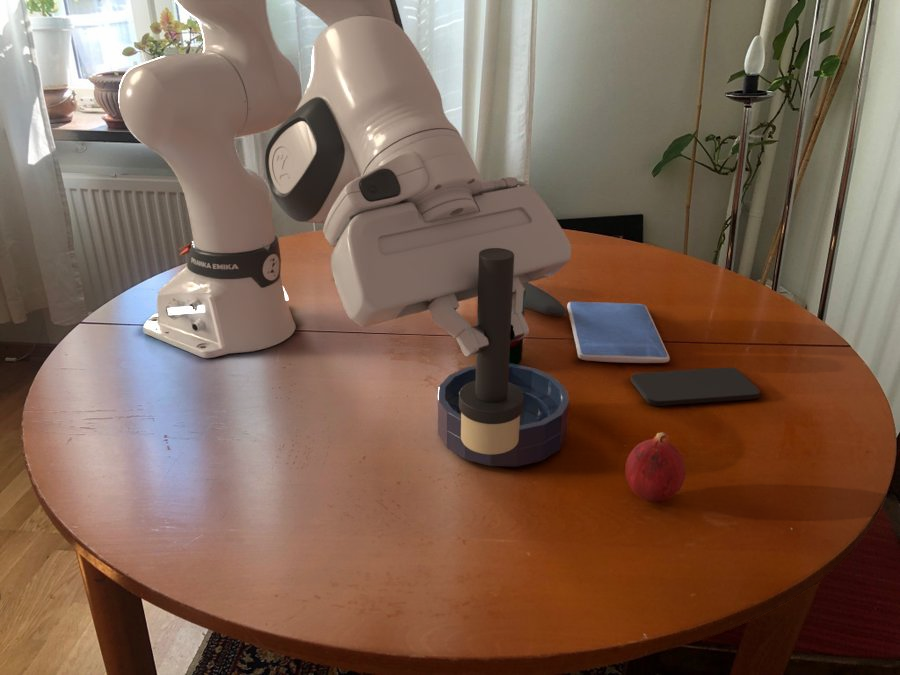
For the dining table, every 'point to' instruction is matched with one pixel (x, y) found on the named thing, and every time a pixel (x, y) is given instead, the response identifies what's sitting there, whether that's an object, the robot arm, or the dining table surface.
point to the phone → (694, 386)
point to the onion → (655, 469)
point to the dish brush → (492, 363)
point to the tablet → (616, 333)
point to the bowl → (537, 421)
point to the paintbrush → (542, 301)
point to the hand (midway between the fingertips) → (498, 345)
